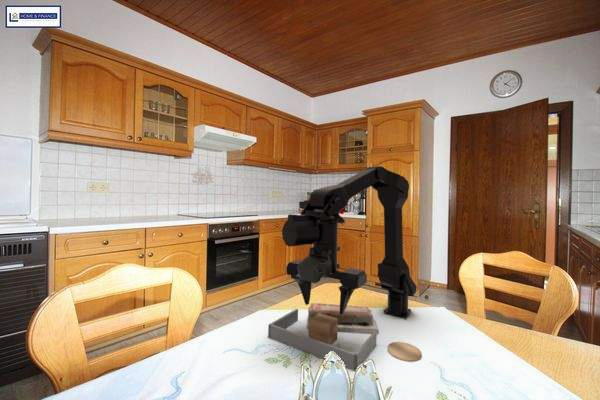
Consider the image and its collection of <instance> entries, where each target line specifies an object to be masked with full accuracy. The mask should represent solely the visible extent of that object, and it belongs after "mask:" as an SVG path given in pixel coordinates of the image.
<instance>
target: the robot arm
mask: <svg viewBox="0 0 600 400" xmlns="http://www.w3.org/2000/svg"><path fill="white" fill-rule="evenodd" d="M368 188H371V189H374V190H375V191H376V192H377V198H378V200H379V202H380V204H381V207H383V224H384V226H383V230H384V232H383V233H384V258H383V259H382V261H381V262H378V264H377V277H378V280H379V284H380V287H381V290H385V291H387V307H385V308H384V310H383V313H385V314H389V315H392V316H396V317H400V318H404V319H407V318H408V316H409V315H410V314H411V312H412V308H409V297H414V295H416V293H417V288H418V287H417V285H416V283H415V282H414V280H413V279H412V278H411V274H410V273H411V272H410V267H409V265H408V264H407V262H406V260H405V258H404V251H403V250H404V249H403V248H404V246H403V245H404V244H403V243H404V238H403V237H404V236H403V234H404V233H403V207H404V205H405V203H406V201H408V198H409V189H410V183H409V181H408V180H407V179H406V177H405V176H403V175H400V174H398V173H396V172H393V171H390V170H388V169H387V168H385V167H384V166H381V165H376V166H374V165H373V166H368V167H366V168H364V169H363V170H362V171H360V172H358V173H356V174H354V175H352V176H350V177H349V178H347V179H345V180H343V181H341V182H339V183H337V184H333V185H329V186H324V187H321V188H316V189H314V190H312V192H311V193H310V197H309V200H307V203H306V204H305V206H304V207H303V209H302V210H301V213H300V214H293V213H292V214H287V220H286V221H285V222H284V224H283V228H281V235H282V240H283V243H284V244H285V245H286V246H287V247H299V246H307V245H312V246H310V247H309V251H308V256H306V257H305V258H304V259H296V260H292V261H289V262H288V263H287V265H286V266H285V274H286V275H287V276H289V277H290V279H292V280H294V281H295V282H296V283H297V285H298V287H299V289H300V292H301V295H302V298H303V302H304V304H305V305H306V306H308V305H309V304H310V301H311V293H312V292H311V291H312V284H317V283H319V282H320V281H321V278H326V279H327V278H330V279H335V280H339V283H340V284H341V285H340V286H338V290H339V292H340V297H339V305H340V314H341V315H342V314H343V313H344V311H345V308H346V306H347V305H349V304H348V303H349V301H350V298H351V296H352V295H353V293H354V291H355V290H357V289H358V290H359V289H360V288H361V287H363V286H364V285H366V284H367V283H368V282H367V281H368V280H367V279H368V276H367V273H366V271H365V270H363V269H357V268H351V267H349V268H348V269H345V270H338V269H340V263H338V252H340V251H341V247H340V246H338V236H339V234H338V233H339V230H338V229H339V224H345V222H346V220H345V219H344V218H343V217H342V216H341V215H340V212H341V211H342V210H343V209H345V208H346V207H347V205H348V203H349V201H350V200H351V199H352V198H353V197H354V196H356V195H359V194H360V193H361V192H363V191H365V190H366V189H368Z"/></svg>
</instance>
